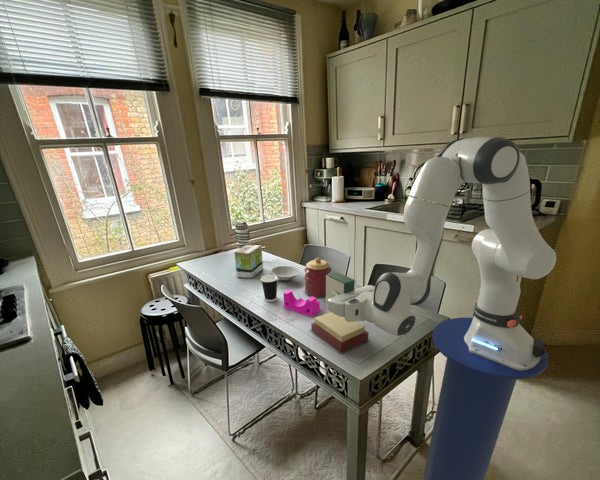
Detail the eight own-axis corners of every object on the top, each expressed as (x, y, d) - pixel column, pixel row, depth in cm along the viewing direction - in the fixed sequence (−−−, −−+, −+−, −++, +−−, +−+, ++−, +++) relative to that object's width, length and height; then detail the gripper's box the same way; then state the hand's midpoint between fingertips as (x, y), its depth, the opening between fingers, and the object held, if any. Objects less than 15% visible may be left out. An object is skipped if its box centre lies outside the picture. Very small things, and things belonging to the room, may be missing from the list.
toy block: (319, 310, 139) (319, 295, 136) (311, 316, 134) (311, 301, 131) (292, 302, 147) (292, 287, 144) (284, 307, 143) (283, 292, 139)
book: (353, 310, 113) (354, 279, 108) (343, 314, 111) (344, 283, 106) (335, 300, 121) (335, 271, 116) (325, 303, 118) (325, 274, 113)
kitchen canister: (335, 294, 152) (335, 260, 145) (309, 299, 149) (308, 264, 142) (325, 284, 164) (325, 252, 156) (302, 288, 161) (300, 255, 153)
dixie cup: (282, 299, 150) (280, 278, 145) (267, 304, 146) (265, 283, 141) (273, 294, 156) (272, 273, 151) (259, 298, 151) (257, 277, 147)
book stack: (368, 340, 117) (369, 326, 114) (341, 353, 111) (341, 338, 108) (336, 320, 131) (336, 307, 128) (311, 330, 124) (310, 317, 122)
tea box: (252, 278, 174) (250, 253, 168) (236, 277, 177) (233, 252, 171) (263, 268, 187) (261, 244, 181) (248, 267, 190) (245, 243, 184)
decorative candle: (252, 262, 198) (247, 222, 188) (237, 263, 198) (232, 223, 188) (253, 257, 207) (249, 219, 196) (239, 258, 206) (234, 220, 196)
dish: (265, 278, 174) (264, 270, 171) (285, 271, 182) (285, 263, 180) (285, 288, 161) (284, 279, 159) (306, 280, 170) (306, 271, 167)
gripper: (390, 288, 106) (361, 276, 117) (344, 306, 96) (317, 290, 107) (389, 305, 109) (361, 291, 119) (343, 323, 99) (317, 307, 109)
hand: (340, 291), depth 113 cm, fingers closed on book, 4 cm apart
